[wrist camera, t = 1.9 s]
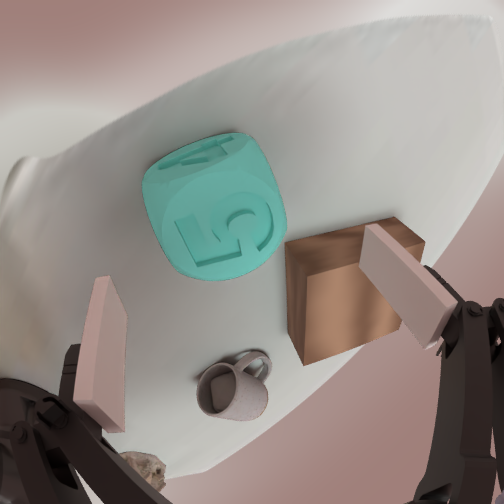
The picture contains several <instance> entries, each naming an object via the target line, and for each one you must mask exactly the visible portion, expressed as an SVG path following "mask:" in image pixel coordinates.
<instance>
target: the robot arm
mask: <svg viewBox="0 0 504 504" xmlns="http://www.w3.org/2000/svg"><path fill="white" fill-rule="evenodd" d="M359 268H360V269H361V270H362V271H363V272H364V273H365V275H366V276H367V277H368V278H369V279H370V281H371V282H372V283H373V284H374V286H375V287H376V288H377V289H378V290H379V292H380V293H381V294H382V295H383V297H384V298H385V299H386V300H387V302H388V303H389V304H390V305H391V307H392V308H393V309H394V310H395V312H396V313H397V314H398V315H399V317H400V318H401V319H402V321H403V322H404V323H405V325H406V326H407V327H408V328H409V330H410V331H411V332H412V334H413V335H414V336H415V338H416V339H417V340H418V342H419V343H420V344H421V346H422V347H423V348H424V350H426V349H428V348H430V347H432V346H434V345H436V343H437V342H438V340H439V338H440V336H442V338H443V339H444V341H443V343H442V345H441V346H440V348H439V350H438V351H437V354H436V356H438V355H439V354H440V352H441V351H442V355H441V357H442V359H441V376H440V388H439V398H438V407H437V415H436V422H435V428H434V434H433V440H432V446H431V450H430V455H429V460H428V465H427V469H426V472H425V475H424V477H423V478H422V480H421V481H420V483H419V485H418V487H417V489H416V492H415V495H414V499H413V501H410V502H407V503H405V504H447V501H448V500H449V498H450V501H449V504H491V501H492V496H493V491H494V485H495V479H496V472H497V473H498V480H499V484H500V489H501V492H502V494H501V495H499V496H498V497H497V498H496V501H495V504H504V299H503V298H497V299H496V300H495V301H494V302H493V304H492V306H491V307H482V306H481V305H479V304H478V303H476V302H473V301H467V302H465V301H464V300H463V299H462V298H461V297H460V295H459V294H458V293H457V292H456V291H455V290H454V289H453V288H452V287H451V286H450V285H449V284H448V283H446V281H445V280H444V279H443V278H441V276H440V275H439V274H438V273H437V272H436V271H435V270H433V269H432V268H430V267H428V266H426V265H425V266H422V265H421V264H420V263H419V262H418V261H417V260H416V259H415V258H414V257H413V256H412V255H411V254H410V253H409V252H408V251H407V250H406V249H405V248H404V247H402V246H401V245H400V244H399V243H398V242H397V241H396V240H395V239H394V238H393V237H392V236H390V235H389V234H388V233H387V232H386V231H385V230H384V229H383V228H382V227H380V226H379V225H378V224H377V223H376V224H370V225H365V232H364V239H363V245H362V251H361V257H360V262H359ZM127 320H128V315H127V313H126V311H125V309H124V307H123V304H122V302H121V300H120V298H119V296H118V293H117V291H116V289H115V286H114V284H113V282H112V279H111V277H110V275H108V276H103V277H98V278H96V279H95V283H94V287H93V291H92V295H91V299H90V303H89V307H88V312H87V316H86V321H85V326H84V331H83V336H82V342H81V344H74V345H71V346H70V348H69V349H68V351H67V353H66V355H65V360H64V367H63V370H62V376H61V382H60V389H59V396H57V395H54V394H49V393H47V392H46V391H44V390H42V389H40V388H38V387H35V386H33V385H30V384H28V383H24V382H21V381H17V380H12V379H1V380H0V504H92V502H91V501H90V499H89V497H88V495H87V493H86V491H85V490H84V487H83V485H82V483H81V482H80V479H79V477H78V476H77V473H76V471H75V469H76V470H77V472H78V473H79V474H80V475H81V477H82V478H83V479H84V481H85V482H86V483H87V484H88V485H89V487H90V488H91V489H92V490H93V491H94V493H95V494H96V495H97V496H98V497H99V498H100V499H101V501H102V502H103V503H104V504H172V503H171V502H170V501H169V500H167V499H166V498H165V497H164V496H163V495H161V494H160V493H159V492H158V491H157V490H156V489H155V488H153V487H152V486H151V485H150V484H149V483H148V482H147V481H146V480H145V479H144V478H142V477H141V476H140V475H139V474H138V473H137V472H136V471H135V470H134V469H133V468H132V467H131V466H130V465H129V464H128V463H127V462H126V461H125V460H124V459H123V458H122V457H121V456H120V455H119V454H118V452H117V451H116V450H115V449H114V448H113V447H112V446H111V445H110V444H109V443H108V442H107V440H106V439H105V438H104V437H103V436H102V428H103V429H104V430H105V431H106V432H108V433H118V432H125V410H124V383H125V351H126V334H127ZM499 337H500V340H501V343H500V344H499V345H498V343H497V340H498V338H499ZM492 428H493V435H494V443H495V452H496V459H495V458H494V457H492V456H491V454H490V448H491V435H492ZM74 468H75V469H74Z"/></svg>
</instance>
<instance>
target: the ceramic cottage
mask: <svg viewBox="0 0 504 504" xmlns="http://www.w3.org/2000/svg"><path fill="white" fill-rule="evenodd" d="M119 455H120V456H121V457H122V458H123V459H124V460H125V461H126V462H127V463H128V464H129V465H130V466H131V467H132V468H133V469H134V470H135V471H136V472H137V473H138V474H139V475H140V476H141V477H142V478H144V479H145V480H146V481H147V482H148V483H149V484H150V485H151V486H152V487H153V488H155V489H156V490H157V491H158V492H160V491H161V489H162V488H164V487H165V485H166V483H164V478H165V477H164V475H163V474H164V473H165V468H166V465H164V464H163V463H162V462H161V461H160V460H159V459H158V458H157V456H155V455H151V454H146V453H145V454H143V453H139V452H125V453H123V454H122V453H120V454H119Z"/></svg>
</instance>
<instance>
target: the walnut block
mask: <svg viewBox="0 0 504 504" xmlns="http://www.w3.org/2000/svg"><path fill="white" fill-rule="evenodd" d="M376 223H377V224H378V225H379V226H380V227H382V228H383V229H384V230H385V231H386V232H387V233H388V234H389V235H390V236H392V237H393V238H394V239H395V240H396V241H397V242H398V243H399V244H400V245H401V246H402V247H404V248H405V249H406V250H407V251H408V252H409V253H410V254H411V255H412V256H413V257H414V258H415V259H416V260H417V261H418V262H419V263H420V261H421V258H422V254H423V250H424V246H425V241H424V240H423V239H422V238H420V237H419V236H418V235H417V234H415V233H414V232H413V231H412V230H411V229H409V228H408V227H407V226H406V225H404V224H403V223H402V222H401V221H399V220H398V219H397V218H395V217H392V218H388V219H384V220H379V221H375V222H371V223H366V224H362V225H358V226H354V227H349V228H345V229H341V230H336V231H332V232H328V233H324V234H319V235H315V236H311V237H306V238H302V239H298V240H294V241H289V242H285V261H286V287H287V321H288V334H289V336H290V338H291V341H292V343H293V345H294V347H295V349H296V351H297V353H298V355H299V358H300V360H301V362H302V364H303V366H305V365H308V364H311V363H314V362H317V361H320V360H323V359H326V358H329V357H331V356H334V355H337V354H340V353H342V352H345V351H348V350H350V349H353V348H355V347H358V346H361V345H363V344H366V343H368V342H370V341H373V340H375V339H378V338H380V337H382V336H384V335H387V334H389V333H392V332H394V331H396V330H398V329H399V327H400V324H401V322H402V319H401V318H400V317H399V315H398V314H397V313H396V312H395V310H394V309H393V308H392V307H391V305H390V304H389V303H388V302H387V300H386V299H385V298H384V297H383V295H382V294H381V293H380V292H379V290H378V289H377V288H376V287H375V286H374V284H373V283H372V282H371V281H370V279H369V278H368V277H367V276H366V275H365V273H364V272H363V271H362V270H361V269H360V268H359V262H360V257H361V251H362V245H363V239H364V232H365V225H370V224H376Z"/></svg>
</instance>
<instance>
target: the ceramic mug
mask: <svg viewBox="0 0 504 504" xmlns="http://www.w3.org/2000/svg"><path fill="white" fill-rule="evenodd" d="M260 358H261V359H262V361H263V362H264V367H263V369H262V371H261V373H260V374H259V376H258V377H254V376H252V375H250V374H248V373H246V372H244V371H243V369H244V368H245V367H247V366H248V365H249V364H250V363H251V362H253V361H255V360H256V359H260ZM271 370H272V363H271V360H270V359H269V358H268V357H267V356H266V355H264V354H263V353H262V352H259V351H254V352H250V353H248V354H246V355H245V356H243V357H242V358H241V359H240V360H239V361H238V362H237V363H236V364H235V365H234V366H233V365H230V364H228V363H217V364H214V365H212V366H211V367H209V368H208V369H207V370H206V371H205V372H204V373H203V375H202V376H201V378H200V380H199V383H198V386H197V401H198V404H199V407H200V408H201V410H202V411H203V412H204V413H205V414H207V415H209V416H212V417H218V418H224V419H230V420H236V421H250V420H253V419H255V418H257V417H259V416H260V415H261V414H262V413H263V411H264V410H265V408H266V406H267V403H268V392H267V389H266V387H265V385H264V382H265V381H266V379H267V378H268V376H269V375H270V372H271Z"/></svg>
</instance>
